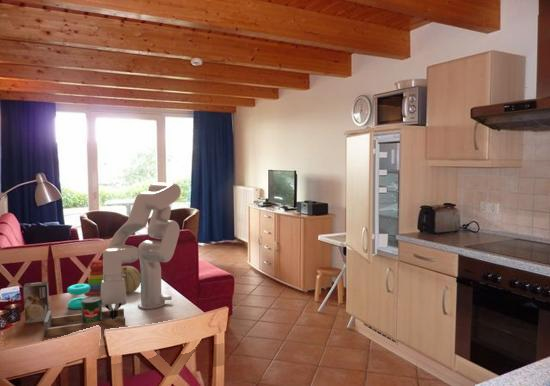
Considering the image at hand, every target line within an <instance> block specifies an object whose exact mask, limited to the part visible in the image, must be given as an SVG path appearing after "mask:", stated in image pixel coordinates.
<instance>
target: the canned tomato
mask: <svg viewBox="0 0 550 386" xmlns="http://www.w3.org/2000/svg"><path fill="white" fill-rule="evenodd" d="M81 307H82V308H81V314H82V321H81V323H89V322H96V321H103V319H102V311H103V310H102V309H103V307H102V306H101V296H87V297H86V298H84V299H82V300H81Z"/></svg>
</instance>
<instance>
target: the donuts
mask: <svg viewBox="0 0 550 386" xmlns="http://www.w3.org/2000/svg"><path fill="white" fill-rule="evenodd" d="M89 290H90V285H88V283H76V284H72V285H70V286H68V287H67V293H68V294H70V295H72V296H80V295H85V293H87V292H88V291H89ZM84 298H87V297H86V296H85V297H84V296H80V297H75V298H71V299H70V300H69V301H68V302H67V307H68V308H69V309H72V310H79V309H81V310H82V307H81V300H82V299H84Z"/></svg>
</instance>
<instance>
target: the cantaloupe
mask: <svg viewBox="0 0 550 386" xmlns="http://www.w3.org/2000/svg"><path fill="white" fill-rule="evenodd" d="M122 273H126V276H125V277H123V279H124V281H125V289H126V295H128V294H133V293H134V292H135V291H137V290H138V289H139V287H140V286H141V272H140V270H139V269H137V268H136V267H135V266H131V265H122Z"/></svg>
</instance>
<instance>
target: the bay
mask: <svg viewBox="0 0 550 386" xmlns="http://www.w3.org/2000/svg"><path fill="white" fill-rule="evenodd" d="M117 313H118V317H120V318H116V319H112V318H111V319H110V311H109V310H108V309H107V310H102V321H96V322H89V323H82V313H76V314H75V313H74V314H68V315H62V316H61V315H60V316H54V317H53V316H52V310H50V311H48V313H47V315H46V318H45V321H43V327H44V329H43V330H44V331H43V332H44V337H45V338H49V337H55V336H62V335H67V334H73V333H72V332H76V331H79V330H83V329H86V328H90V327H93V326H96V325H99V326H100V327H101V328H102V329H103V330H104V329H110V328H111V329H112V328H117V327H123V326H126V317H124V316H125V308H119V309H118V310H117ZM103 319H104V320H103ZM80 322H81V323H80ZM71 323H72V324H71ZM73 323H74V324H73ZM75 323H76V324H75ZM64 324H67V325H64ZM58 325H61V326H58ZM52 326H53V327H52ZM102 329H101V330H102ZM76 333H77V332H76Z"/></svg>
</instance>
